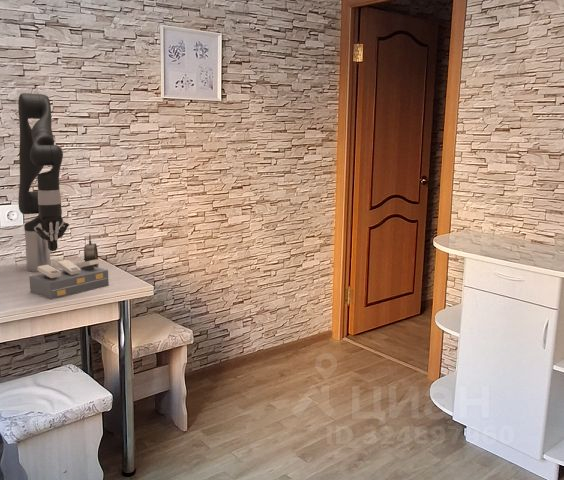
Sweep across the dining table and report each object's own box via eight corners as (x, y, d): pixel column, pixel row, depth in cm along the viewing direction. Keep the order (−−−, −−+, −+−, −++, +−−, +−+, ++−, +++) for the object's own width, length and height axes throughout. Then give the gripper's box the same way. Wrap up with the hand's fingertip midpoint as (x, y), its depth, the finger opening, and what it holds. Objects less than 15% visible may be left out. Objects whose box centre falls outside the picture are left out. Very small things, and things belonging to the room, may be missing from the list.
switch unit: (30, 292, 215) (29, 273, 213) (87, 279, 233) (86, 261, 232) (51, 299, 206) (50, 280, 205) (109, 285, 225) (108, 267, 223)
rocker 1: (37, 270, 213) (37, 266, 213) (47, 268, 216) (47, 264, 216) (51, 278, 208) (51, 273, 208) (61, 276, 211) (61, 271, 211)
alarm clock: (97, 274, 240) (95, 236, 237) (83, 275, 239) (81, 236, 236) (99, 268, 251) (97, 231, 248) (86, 269, 250) (84, 231, 246)
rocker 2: (57, 265, 219) (57, 261, 219) (67, 263, 222) (67, 259, 222) (70, 275, 215) (71, 270, 214) (80, 273, 218) (80, 268, 217)
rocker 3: (77, 267, 226) (76, 263, 226) (86, 265, 229) (85, 261, 229) (90, 265, 220) (89, 260, 220) (99, 263, 223) (98, 258, 223)
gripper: (61, 199, 212) (63, 246, 216) (26, 203, 202) (29, 252, 206) (72, 201, 208) (75, 249, 211) (37, 205, 198) (41, 255, 201)
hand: (52, 250), depth 208 cm, fingers closed
